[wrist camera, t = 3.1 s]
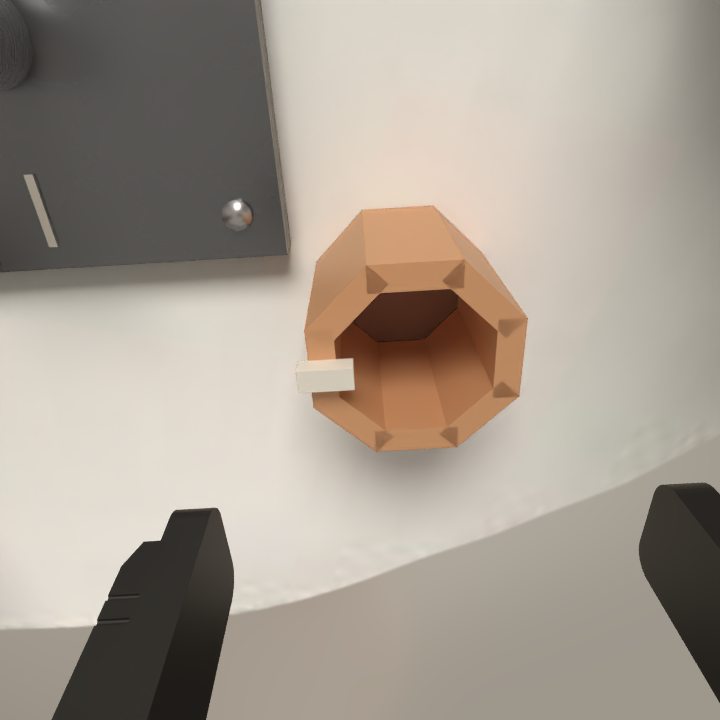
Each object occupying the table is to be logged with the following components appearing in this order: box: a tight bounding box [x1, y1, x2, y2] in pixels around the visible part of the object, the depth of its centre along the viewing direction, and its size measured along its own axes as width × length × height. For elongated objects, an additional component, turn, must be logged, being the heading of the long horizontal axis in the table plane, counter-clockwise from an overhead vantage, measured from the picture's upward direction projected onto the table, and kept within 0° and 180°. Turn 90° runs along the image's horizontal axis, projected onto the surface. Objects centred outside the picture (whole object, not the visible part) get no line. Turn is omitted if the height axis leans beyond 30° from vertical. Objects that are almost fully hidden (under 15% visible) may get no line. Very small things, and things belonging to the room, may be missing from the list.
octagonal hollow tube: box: [296, 206, 528, 452], centre depth 18 cm, size 6×6×7 cm
